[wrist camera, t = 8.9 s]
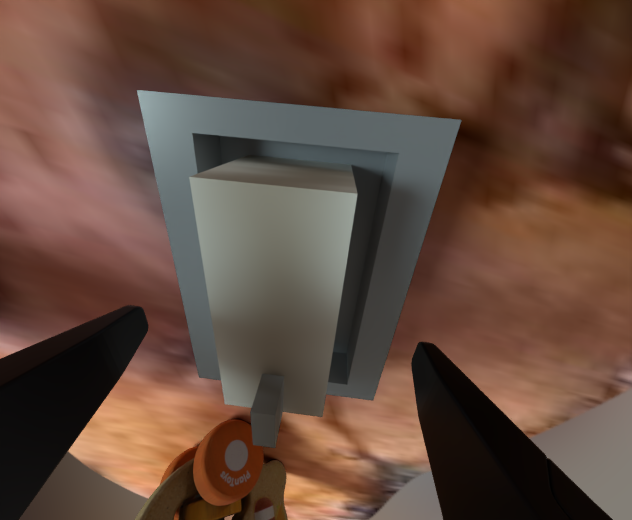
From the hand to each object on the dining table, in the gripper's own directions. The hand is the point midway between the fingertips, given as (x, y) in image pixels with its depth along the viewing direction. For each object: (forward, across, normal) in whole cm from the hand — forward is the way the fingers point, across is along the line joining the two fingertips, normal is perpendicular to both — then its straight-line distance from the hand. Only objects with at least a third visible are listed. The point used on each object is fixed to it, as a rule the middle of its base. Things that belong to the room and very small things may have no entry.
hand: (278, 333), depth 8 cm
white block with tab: (+4, 0, 0) cm, 5 cm away
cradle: (+5, 0, 0) cm, 5 cm away
